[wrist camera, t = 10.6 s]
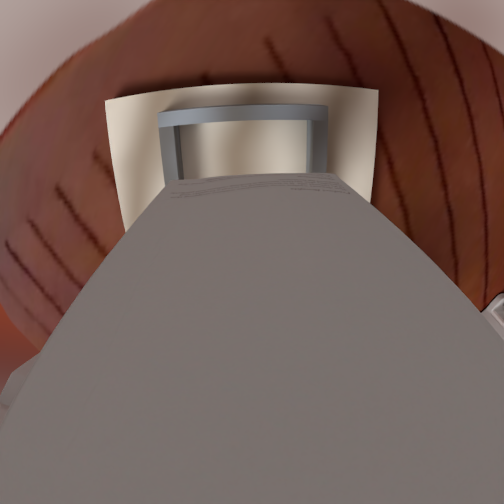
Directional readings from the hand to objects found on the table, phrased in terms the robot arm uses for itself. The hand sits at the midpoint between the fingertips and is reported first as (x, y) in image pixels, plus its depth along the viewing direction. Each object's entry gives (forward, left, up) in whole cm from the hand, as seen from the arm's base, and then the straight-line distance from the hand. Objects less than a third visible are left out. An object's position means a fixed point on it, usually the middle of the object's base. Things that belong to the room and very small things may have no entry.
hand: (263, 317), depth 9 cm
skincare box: (0, 0, -7) cm, 7 cm away
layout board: (0, 0, -17) cm, 17 cm away
